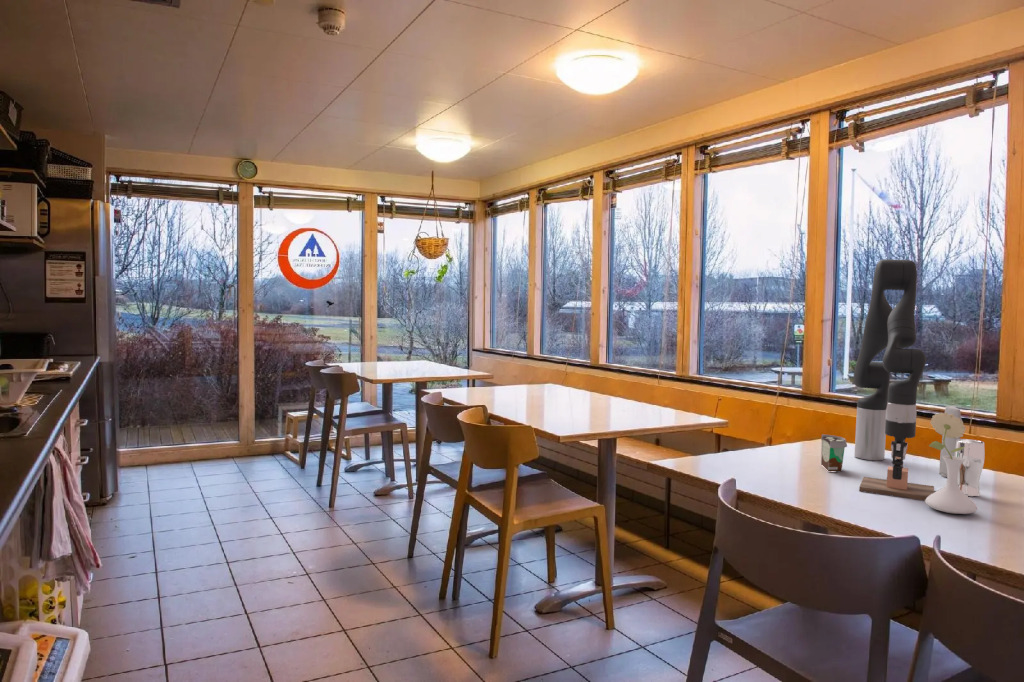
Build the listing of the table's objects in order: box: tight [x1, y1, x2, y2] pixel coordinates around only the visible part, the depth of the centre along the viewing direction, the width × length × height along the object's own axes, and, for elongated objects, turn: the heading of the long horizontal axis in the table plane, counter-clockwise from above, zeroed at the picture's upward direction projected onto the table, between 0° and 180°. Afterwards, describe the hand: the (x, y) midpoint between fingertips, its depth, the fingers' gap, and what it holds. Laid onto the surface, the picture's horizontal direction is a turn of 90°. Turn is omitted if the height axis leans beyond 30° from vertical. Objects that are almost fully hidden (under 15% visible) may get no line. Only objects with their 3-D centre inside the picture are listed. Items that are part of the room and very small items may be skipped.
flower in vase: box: [924, 412, 978, 515], centre depth 179 cm, size 13×11×25 cm
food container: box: [820, 433, 848, 472], centre depth 222 cm, size 12×6×10 cm, turn 168°
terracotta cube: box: [886, 465, 909, 490], centre depth 198 cm, size 5×5×5 cm
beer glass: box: [955, 438, 986, 497], centre depth 195 cm, size 7×7×15 cm
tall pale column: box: [938, 405, 963, 478], centre depth 215 cm, size 11×4×22 cm, turn 174°
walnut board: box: [858, 476, 935, 501], centre depth 198 cm, size 14×18×1 cm
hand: (897, 475), depth 198 cm, fingers open, 8 cm apart
